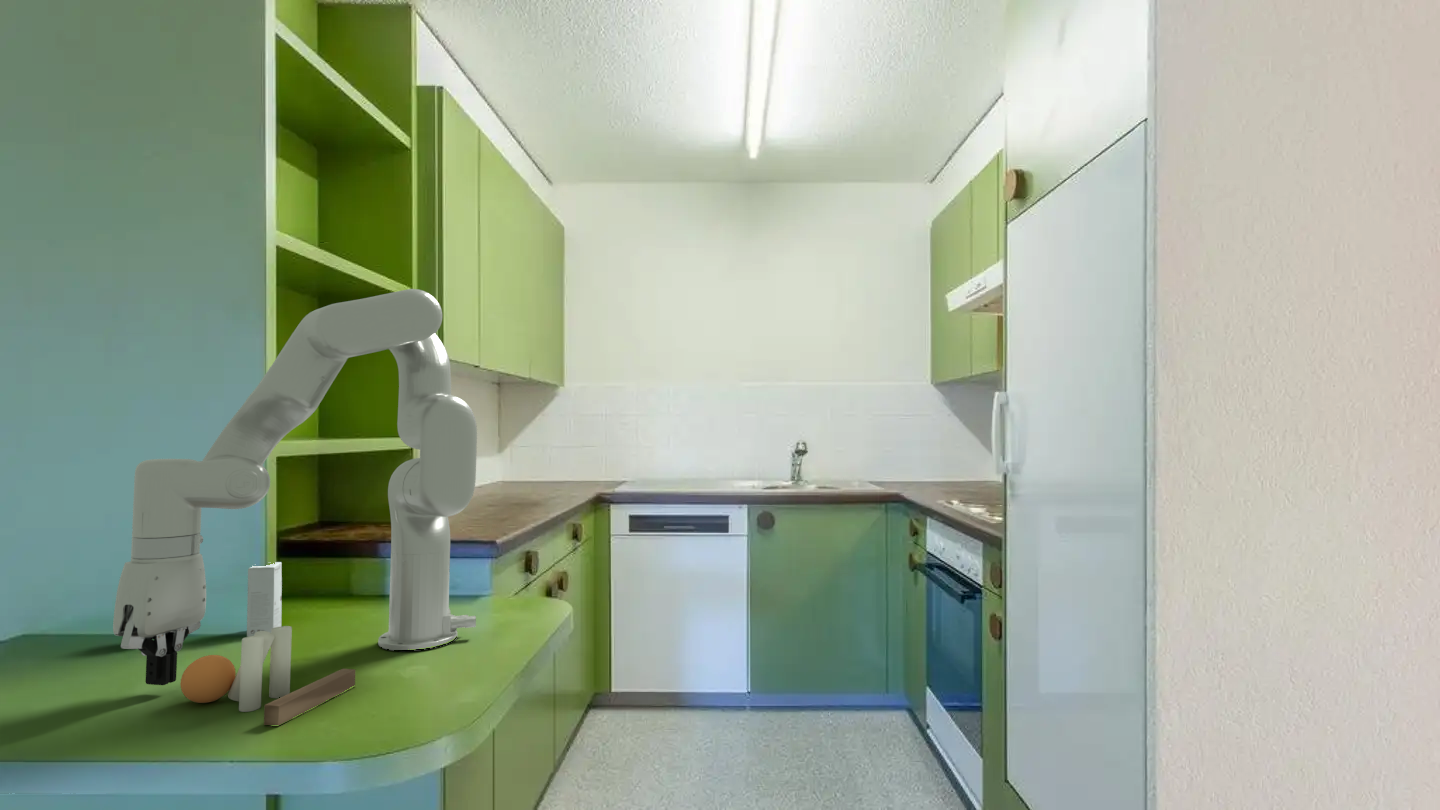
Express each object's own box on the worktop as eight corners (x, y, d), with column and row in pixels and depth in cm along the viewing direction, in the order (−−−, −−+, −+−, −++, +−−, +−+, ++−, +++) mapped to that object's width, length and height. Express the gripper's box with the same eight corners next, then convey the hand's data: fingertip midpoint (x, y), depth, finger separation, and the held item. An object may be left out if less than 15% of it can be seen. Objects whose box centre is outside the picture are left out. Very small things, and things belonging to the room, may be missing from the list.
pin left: (262, 703, 94) (265, 634, 95) (258, 710, 92) (261, 639, 92) (241, 705, 93) (244, 636, 94) (236, 712, 91) (239, 641, 92)
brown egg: (242, 647, 99) (223, 681, 100) (192, 643, 95) (172, 678, 96) (245, 678, 95) (224, 713, 95) (192, 676, 91) (171, 712, 91)
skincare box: (274, 635, 126) (276, 566, 127) (244, 638, 125) (247, 568, 125) (282, 626, 132) (284, 561, 133) (254, 629, 131) (256, 562, 131)
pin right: (291, 690, 99) (293, 625, 100) (287, 696, 97) (290, 629, 97) (271, 693, 98) (273, 626, 99) (267, 699, 96) (269, 631, 96)
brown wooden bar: (263, 725, 87) (264, 705, 87) (342, 686, 101) (342, 668, 101) (278, 727, 87) (279, 706, 87) (354, 687, 101) (355, 669, 101)
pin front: (250, 692, 97) (276, 633, 97) (244, 702, 95) (271, 642, 95) (230, 688, 97) (257, 629, 96) (225, 698, 94) (252, 637, 94)
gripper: (191, 539, 107) (186, 664, 106) (87, 556, 92) (80, 700, 91) (235, 541, 105) (230, 667, 105) (137, 558, 91) (130, 704, 90)
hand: (160, 682), depth 98 cm, fingers closed
